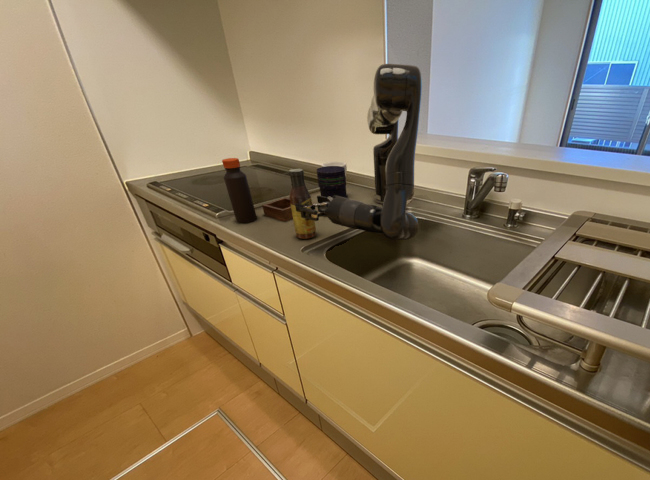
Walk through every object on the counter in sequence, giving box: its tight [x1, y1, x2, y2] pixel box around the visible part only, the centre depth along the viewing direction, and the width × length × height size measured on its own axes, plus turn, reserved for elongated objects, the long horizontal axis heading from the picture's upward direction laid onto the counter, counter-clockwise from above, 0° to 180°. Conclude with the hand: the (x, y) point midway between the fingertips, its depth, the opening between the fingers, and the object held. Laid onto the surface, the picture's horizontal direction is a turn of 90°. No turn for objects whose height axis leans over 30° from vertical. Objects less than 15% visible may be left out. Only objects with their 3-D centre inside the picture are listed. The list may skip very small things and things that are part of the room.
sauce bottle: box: [288, 168, 317, 240], centre depth 102 cm, size 6×6×20 cm
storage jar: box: [316, 166, 348, 198], centre depth 121 cm, size 10×10×15 cm
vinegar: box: [221, 157, 258, 224], centre depth 114 cm, size 7×7×20 cm
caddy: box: [261, 197, 293, 222], centre depth 123 cm, size 10×11×4 cm
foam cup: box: [321, 161, 348, 177], centre depth 136 cm, size 10×9×13 cm
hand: (307, 203), depth 100 cm, fingers open, 8 cm apart
